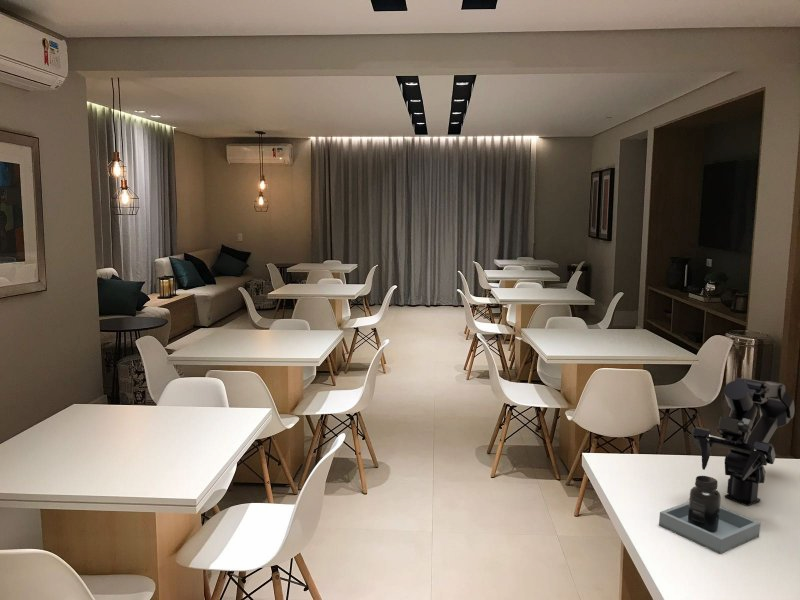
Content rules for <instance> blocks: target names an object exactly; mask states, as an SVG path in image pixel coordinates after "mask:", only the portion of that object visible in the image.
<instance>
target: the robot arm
mask: <svg viewBox="0 0 800 600" xmlns="http://www.w3.org/2000/svg"><path fill="white" fill-rule="evenodd" d="M723 394H724V396H725V399H726V402H727V404H728V407H729V408H730V412H729V415H728V416H727V417H726V416H722V415H721V416H720V417H719V420H718V421H719V422H718V426H717V429H718V430H719V434H720V435H721V436H716V435H713V434H712V430H711V429H709V428H705V427H704V428H703V427H699V426H696V427H694V428H693V429H692V431H691V437H692V438H691V439H692V440H693V443H694V445H696V446H697V447H698V449H699V450H700V451H701V452H700V453H701V468H702V470H703V471H705V469H706V468H707V466H708V463H709V460H710V456H711V453H712V449H711V448H712V447H713V445H718V446H723V447H725V448H729V449H730V451H729V452H727V453H726V454H725V457H724V475H725V476H729V478H728V479H727V488H726V493H727V494H725V495H724V498H726V499H729V500H732V501H734V502H736V503H739V504H742V505H743V506H749V507H750V506H751V505H753V504H755V503H758V502H761V498H760V497H758V495H759V494H758V492H759V484H764V483H765V481H766V479H765V478H766V470H765V466H767V465H768V464H769V465H774V463H775V460H776V452H775V448H774V446H773V444H772V443H770V440H771V439H772V437H773V435H774V434H775V431H776V430H777V429H778V428H781V427H784V426H787V424H789V422H790V421H791V419H793V418H794V416H795V407H796V406H795V401H794V399H793V397H792V396H791V395H790V394H789V393H788V392H787V391H786V386H785V384H783V383H780V382H775V381H771V380H770V381H769V380H767V381H761V380H756V379H751V378H746V377H736V379H735V380H733V381H730V382H728V383H726V385H725V386H724V387H723ZM776 398H779V399H776ZM756 403H757V405H758V407H757V405H756ZM758 410H759V415H760V418H759V419H758V421H757V422H756V424H755V425H754V422H755V419H756V417H757V413H758ZM753 425H754V427H753ZM752 428H753V429H752Z"/></svg>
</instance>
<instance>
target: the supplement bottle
mask: <svg viewBox="0 0 800 600" xmlns="http://www.w3.org/2000/svg"><path fill="white" fill-rule="evenodd" d="M721 498H722V496H721V493H720V492H719V491H718V480H717V479H716V478H714V477H712V476H708V475H697V476H696V477H695V482H694V486H693V487H692V488H691V489H690V491H689V501H688V502H689V511H688V523H691V524H693V525H695V526H697V527H700V528H702V529H704V530H706V531H709V532H714V531H716V530H717V529H718V524H719V512H720V507H721V501H722V500H721Z"/></svg>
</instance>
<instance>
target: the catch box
mask: <svg viewBox="0 0 800 600" xmlns="http://www.w3.org/2000/svg"><path fill="white" fill-rule="evenodd" d="M688 511H689V501H687V502H683V503H681V504H678V505H675V506H672V507H670V508H667V509H665V510H661V511H659V520H658V526H659V527H661V528H663V529H665V530H667V531H669V532H672V533H674V534H677V535H679V536H680V537H682V538H685V539H688V540H689V541H691V542H694V543H696V544H697V545H700V546H702V547H704V548H706V549H709V550H711V551H713V552H715V553H716V554H719V555H722V554H723V553H726V552H728V551H731V550H732V549H735V548H737V547H739V546H741V545H744V544H745V543H748V542H751V541H752V540H755V539H757V538H759V537H760V532H761V522H759V521H758V520H754V519H752V518H750V517H748V516H745V515H741V514H740V513H738V512H735V511H733V510H730V509H727V508H725V507H723V506H720V512H719V524H718V529H717V530H716V531H714V532H709V531H706V530H704V529H702V528H700V527H697V526H695V525H693V524H691V523H688Z"/></svg>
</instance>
